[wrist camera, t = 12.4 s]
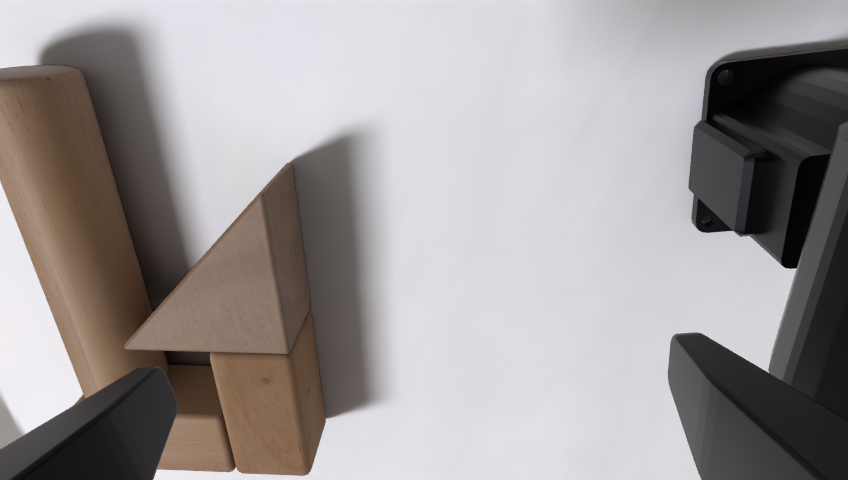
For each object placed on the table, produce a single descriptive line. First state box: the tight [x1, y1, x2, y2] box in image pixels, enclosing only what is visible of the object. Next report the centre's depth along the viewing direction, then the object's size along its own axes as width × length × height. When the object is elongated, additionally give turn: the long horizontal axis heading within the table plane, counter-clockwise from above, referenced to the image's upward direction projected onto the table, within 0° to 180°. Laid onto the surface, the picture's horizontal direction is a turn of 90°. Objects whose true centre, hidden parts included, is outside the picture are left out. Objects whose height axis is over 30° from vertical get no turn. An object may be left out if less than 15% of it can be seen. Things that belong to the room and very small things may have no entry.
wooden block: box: [0, 65, 326, 476], centre depth 23 cm, size 4×11×18 cm
